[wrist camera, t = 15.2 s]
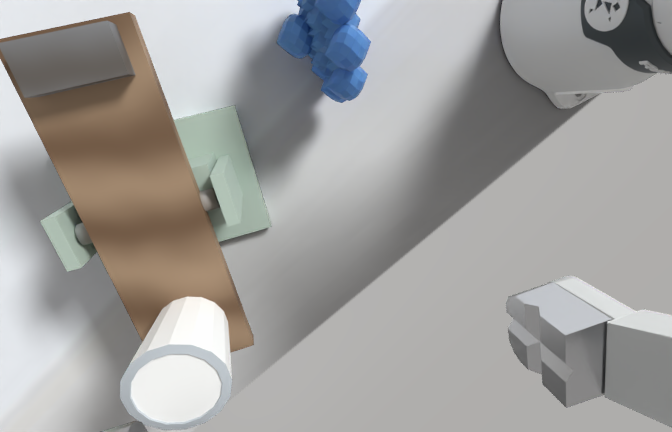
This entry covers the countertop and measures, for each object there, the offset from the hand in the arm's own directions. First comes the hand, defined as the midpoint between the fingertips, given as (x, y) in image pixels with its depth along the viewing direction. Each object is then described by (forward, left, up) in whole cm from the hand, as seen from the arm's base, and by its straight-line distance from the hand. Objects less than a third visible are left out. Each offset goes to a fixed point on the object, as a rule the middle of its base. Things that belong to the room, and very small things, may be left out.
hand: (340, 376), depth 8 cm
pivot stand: (+10, +1, -31) cm, 33 cm away
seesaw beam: (+10, +1, -23) cm, 25 cm away
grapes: (-6, -9, -31) cm, 33 cm away
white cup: (+10, +10, -22) cm, 27 cm away
